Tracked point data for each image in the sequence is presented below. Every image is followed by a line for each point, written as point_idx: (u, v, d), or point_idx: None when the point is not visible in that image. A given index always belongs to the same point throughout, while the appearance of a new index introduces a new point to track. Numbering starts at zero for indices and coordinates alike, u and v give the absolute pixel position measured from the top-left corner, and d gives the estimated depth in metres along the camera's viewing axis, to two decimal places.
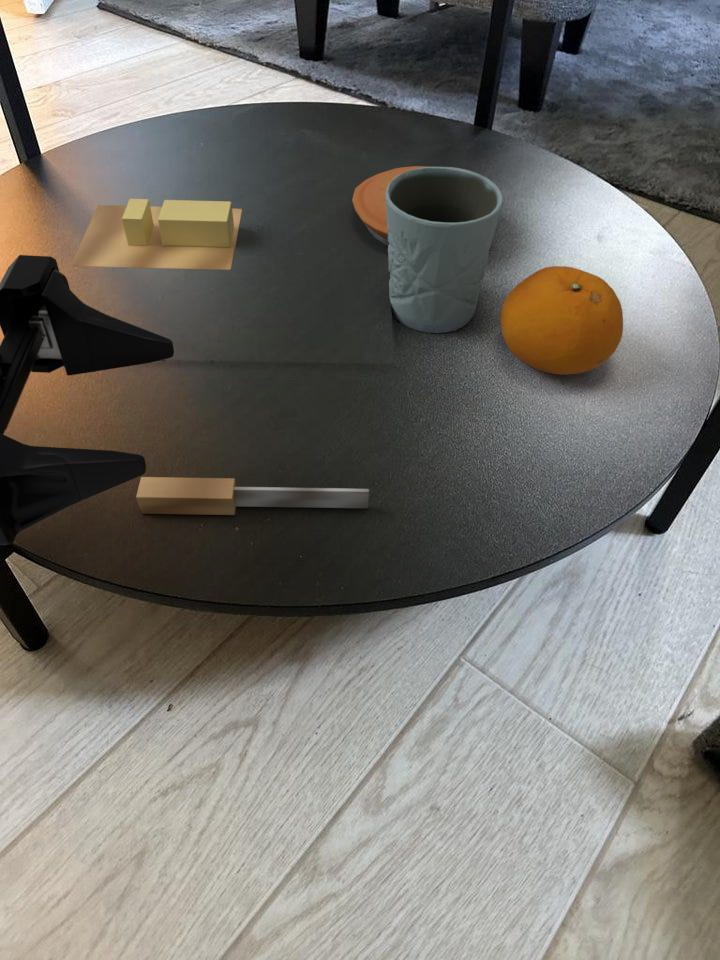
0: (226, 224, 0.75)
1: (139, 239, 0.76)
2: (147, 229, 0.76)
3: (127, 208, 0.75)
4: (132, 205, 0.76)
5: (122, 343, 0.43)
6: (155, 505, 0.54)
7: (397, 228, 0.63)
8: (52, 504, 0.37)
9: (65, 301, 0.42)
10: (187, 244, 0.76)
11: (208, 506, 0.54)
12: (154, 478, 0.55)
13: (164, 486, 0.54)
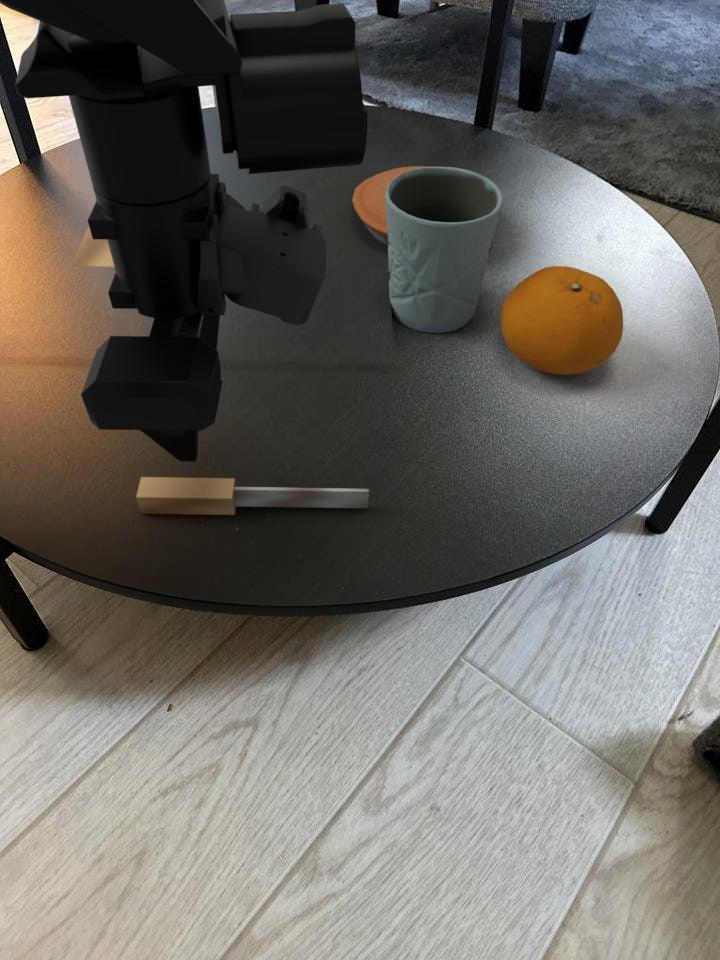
0: None
1: None
2: None
3: None
4: None
5: (205, 328, 0.49)
6: (155, 505, 0.54)
7: (397, 228, 0.63)
8: None
9: None
10: None
11: (208, 506, 0.54)
12: (154, 478, 0.55)
13: (164, 486, 0.54)
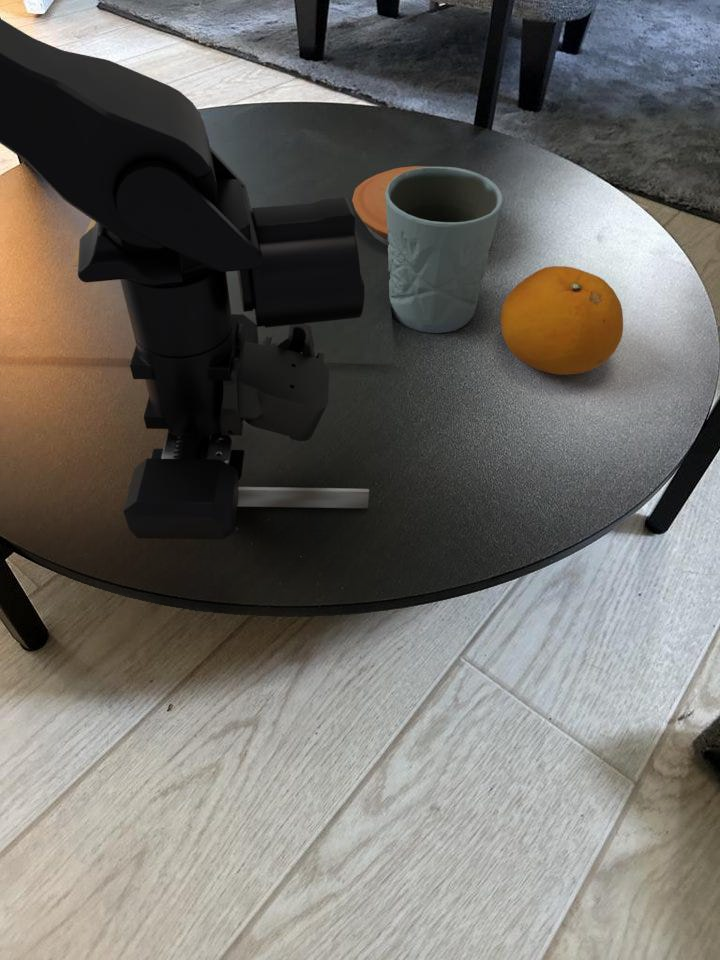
0: None
1: None
2: None
3: None
4: None
5: None
6: None
7: (397, 228, 0.63)
8: None
9: None
10: None
11: None
12: None
13: None
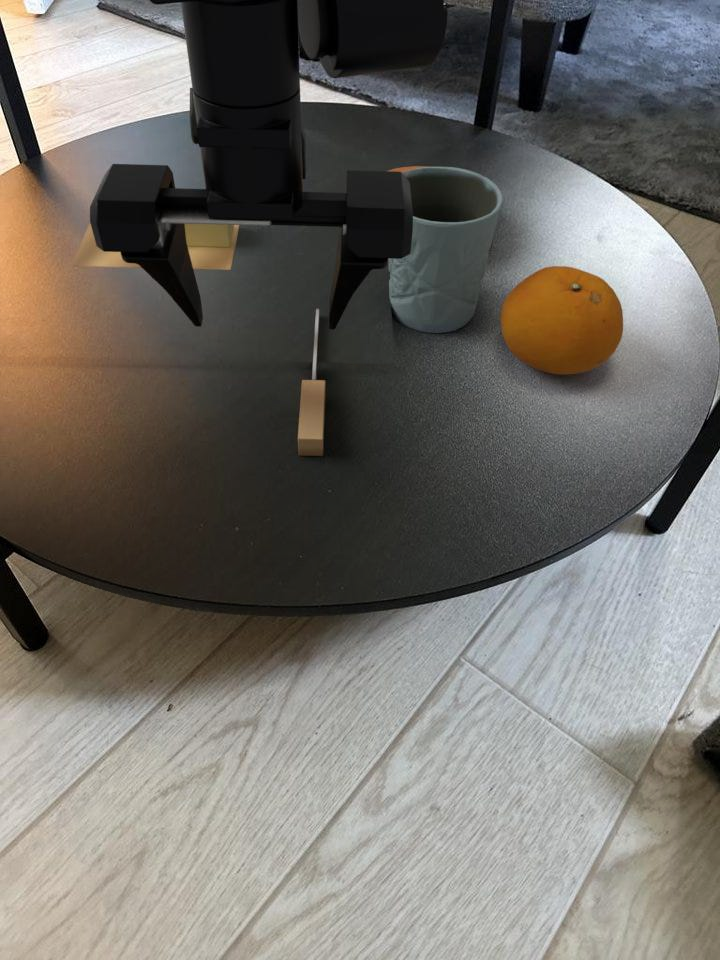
0: None
1: None
2: None
3: None
4: None
5: (194, 285, 0.49)
6: (323, 436, 0.59)
7: None
8: None
9: None
10: (187, 244, 0.76)
11: None
12: (300, 429, 0.58)
13: (310, 421, 0.59)
